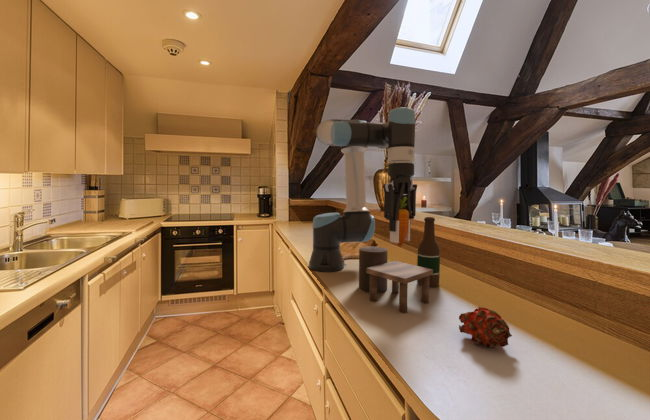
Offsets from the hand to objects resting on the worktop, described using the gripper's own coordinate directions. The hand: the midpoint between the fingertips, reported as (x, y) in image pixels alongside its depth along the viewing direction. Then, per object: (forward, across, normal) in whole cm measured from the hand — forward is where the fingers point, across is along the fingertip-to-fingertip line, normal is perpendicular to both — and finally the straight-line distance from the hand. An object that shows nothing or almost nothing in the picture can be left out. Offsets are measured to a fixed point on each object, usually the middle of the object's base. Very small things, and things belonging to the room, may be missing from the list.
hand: (399, 241), depth 91 cm
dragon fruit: (+19, -6, -27) cm, 33 cm away
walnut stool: (+19, 0, 0) cm, 19 cm away
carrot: (+2, 0, 0) cm, 2 cm away
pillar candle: (+19, +3, +13) cm, 23 cm away
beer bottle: (+19, +21, +3) cm, 28 cm away
